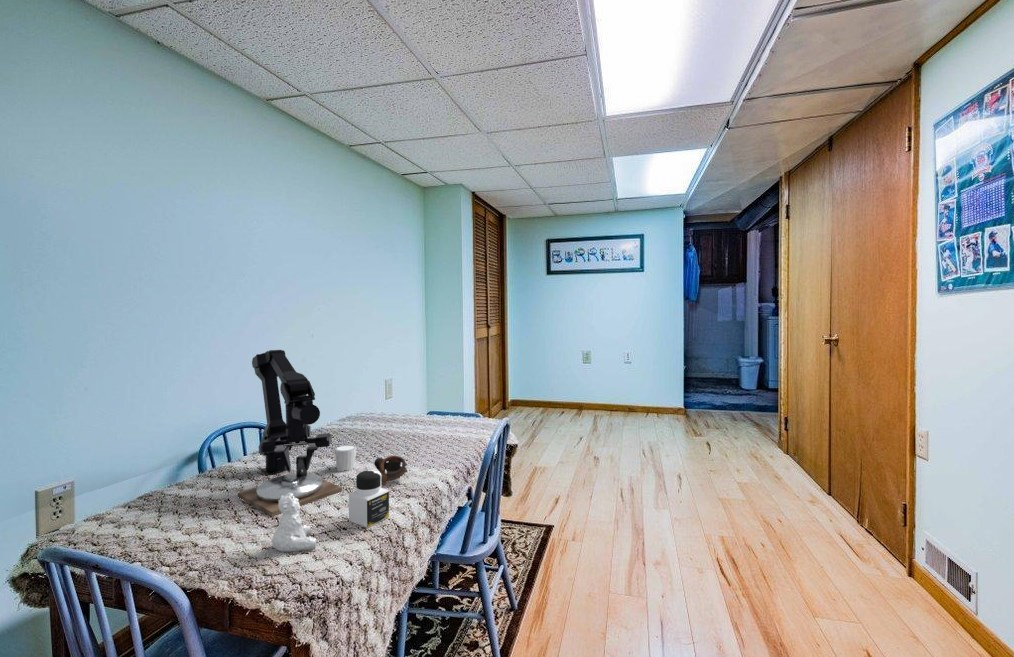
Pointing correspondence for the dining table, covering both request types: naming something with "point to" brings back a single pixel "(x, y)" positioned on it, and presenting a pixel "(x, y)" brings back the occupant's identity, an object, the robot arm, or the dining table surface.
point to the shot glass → (345, 457)
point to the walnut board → (272, 507)
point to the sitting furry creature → (292, 528)
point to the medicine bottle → (368, 500)
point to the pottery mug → (391, 468)
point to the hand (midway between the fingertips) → (298, 470)
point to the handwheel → (290, 484)
